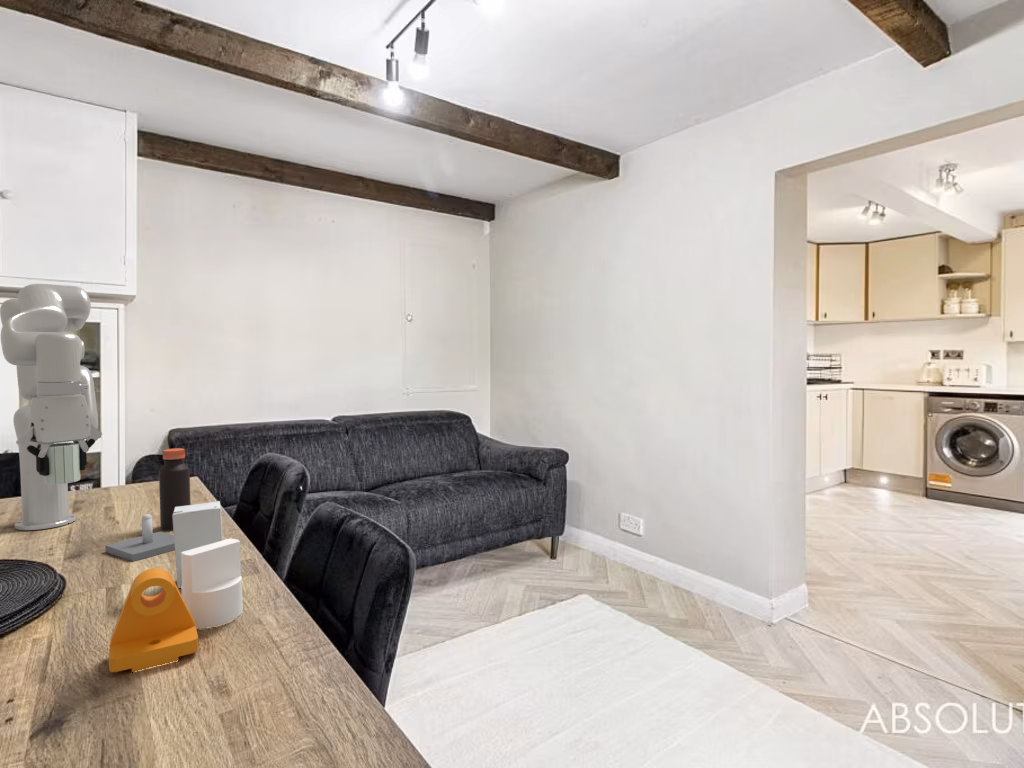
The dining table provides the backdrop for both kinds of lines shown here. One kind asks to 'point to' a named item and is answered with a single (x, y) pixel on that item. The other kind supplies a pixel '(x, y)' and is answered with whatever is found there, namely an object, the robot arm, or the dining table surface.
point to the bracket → (152, 625)
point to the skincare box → (195, 529)
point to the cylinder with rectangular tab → (212, 582)
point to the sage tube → (63, 463)
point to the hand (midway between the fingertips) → (62, 471)
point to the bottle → (173, 485)
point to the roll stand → (143, 543)
